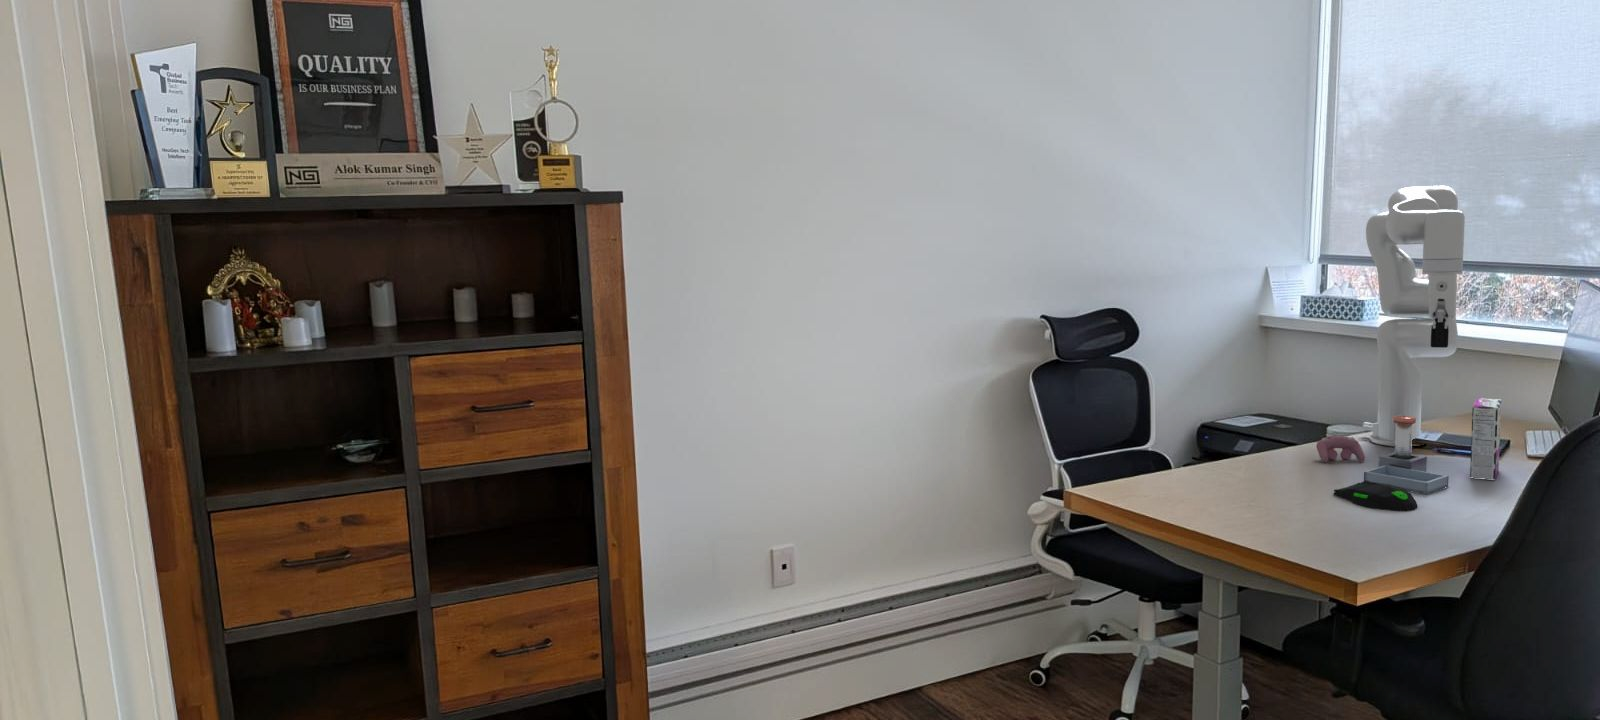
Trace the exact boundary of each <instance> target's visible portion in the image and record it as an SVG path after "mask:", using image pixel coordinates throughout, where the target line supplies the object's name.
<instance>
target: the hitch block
mask: <svg viewBox="0 0 1600 720" xmlns="http://www.w3.org/2000/svg"><path fill="white" fill-rule="evenodd" d="M1427 462H1428V457H1427V456H1424V455H1418V454H1412V453H1411V459H1409V460H1406V459H1400V458H1395V451H1393V452H1390V453H1387V454H1386V453H1385V454H1382V455H1378V467H1381V466H1384V465H1388V466H1394V467H1400V468H1406V469H1412V470H1418V471H1424V472H1427V465H1428V463H1427Z"/></svg>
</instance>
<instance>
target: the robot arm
mask: <svg viewBox="0 0 1600 720" xmlns="http://www.w3.org/2000/svg"><path fill="white" fill-rule="evenodd" d="M1458 201H1459V200H1458V196H1457V194H1456V192H1455V191H1454V189H1453V188H1451V187H1449V186H1445V185H1439V186H1438V185H1433V186H1432V185H1431V186H1409V187H1404V188H1400V189H1399V190H1396V191H1395V192H1394V193H1392V194H1391V196H1390V198H1389V199H1388V204H1387V208H1388V211H1386V212H1380V213H1378V214H1374V215H1372V216H1371V217H1370V218H1369V219H1368V220H1367V222H1366V227H1365V239H1366V245H1367V247H1368V251H1369V253H1370V255H1371V257H1372V260H1373V262H1374V264H1375V267H1376V270H1377V282H1378V283H1377V284H1378V292H1379V302H1380V307H1381V310H1382V312H1383V314H1384V315H1386V316H1388V317H1392V318H1394V319H1389V320H1387V321H1383V322H1382V323H1381V324H1380V325H1378V328H1377V330H1376V342H1377V344H1376V345H1377V350H1378V363H1379V367H1378V368H1379V375H1378V377H1379V378H1378V398H1377V399H1378V400H1377V401H1378V403H1377V422H1374V423H1373V422H1369V421H1363V423H1362V431H1365V432H1366V431H1368V432H1371V433H1372V435H1370V436H1369V441H1370V442H1371V443H1373V444H1376V445H1381V446H1387V447H1388V446H1389V447H1393V448H1395V436H1396V423H1395V422H1393V416H1412V417H1416V423H1414V424H1413V425H1412V440H1413V439H1415V438H1416V437H1419V436H1420V437H1421V425H1422V424H1421V423H1422V422H1421V420H1422V399H1423V373H1422V371H1421V369H1420V368H1419V367H1418V365H1416V363H1415V362H1413V360H1412V358H1445V357H1451V356H1452V355H1453V354H1454V353H1456V351H1457V349H1458V343H1459V337H1458V336H1459V335H1458V334H1459V333H1458V326H1457V299H1458V298H1457V297H1458V295H1457V294H1458V278H1457V275H1462V274H1463V270H1464V267H1463V266H1464V248H1465V247H1464V243H1465V242H1464V241H1465V223H1466V222H1465V221H1466V219H1465V214H1464V212H1462V211H1461V210H1458V206H1459V205H1458V204H1459V202H1458ZM1397 245H1402V246H1403V245H1423V246H1422V247H1423V248H1422V265H1421V266H1422V268H1421V275H1428V277H1427V278H1428V279H1418V277H1417V272H1416V263H1415V262H1414V260H1413V259H1412V258H1411V256H1409V254H1407V253H1406V252H1405V251H1403V250H1402V249H1401V248H1399V246H1397ZM1396 318H1397V319H1396Z"/></svg>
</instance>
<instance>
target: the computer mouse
mask: <svg viewBox="0 0 1600 720" xmlns="http://www.w3.org/2000/svg"><path fill="white" fill-rule="evenodd" d="M1333 495H1334V496H1335V497H1338V498H1341V499H1342V500H1346V501H1347V502H1350V503H1352V504H1353V505H1356V506H1359V507H1363V508H1368V509H1372V510H1379V511H1380V510H1381V511H1389V512H1391V511H1392V512H1412V510H1413V511H1416V510H1417V509H1418V506H1419V505H1418V503H1417V501H1416V499H1415V497H1414V496H1413V495H1412V492H1410V491H1406V490H1405V489H1402V488H1399V487H1397V486H1393V485H1390V484H1381V483H1371V482H1369V481H1367V480H1365V481H1363V480H1362V482H1358V483H1353V484H1352V485H1349V486H1346V487H1342V488H1338V489H1337V488H1335V489H1333ZM1415 509H1416V510H1415Z"/></svg>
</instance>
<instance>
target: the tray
mask: <svg viewBox="0 0 1600 720" xmlns="http://www.w3.org/2000/svg"><path fill="white" fill-rule="evenodd" d="M1449 477H1450V476H1449V475H1448V474H1441V473H1436V472H1435V473H1434V472H1430V471H1426V472H1424V471H1418V470H1412V469H1406V468H1400V467H1394V466H1388V465H1384V466H1381V467H1379V466H1378V467H1374V468H1372V469H1368V470H1365V471H1363V480H1362V482H1363V481H1365V480H1367V481H1369V482H1371V483H1381V484H1390V485H1393V486H1397V487H1399V488H1402V489H1405V490H1406V491H1408V492H1410V491H1413V492H1412V493H1416V492H1419V493H1418V494H1421V493H1423V494H1422V495H1426V494H1427V495H1430V494H1432V492H1433V493H1435V492H1434V491H1436V492H1438V491H1437V490H1439V491H1440V489H1441V490H1444V489H1446V488H1445V487H1447V488H1449V481H1450V479H1449ZM1443 488H1444V489H1443ZM1429 493H1430V494H1429Z"/></svg>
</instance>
